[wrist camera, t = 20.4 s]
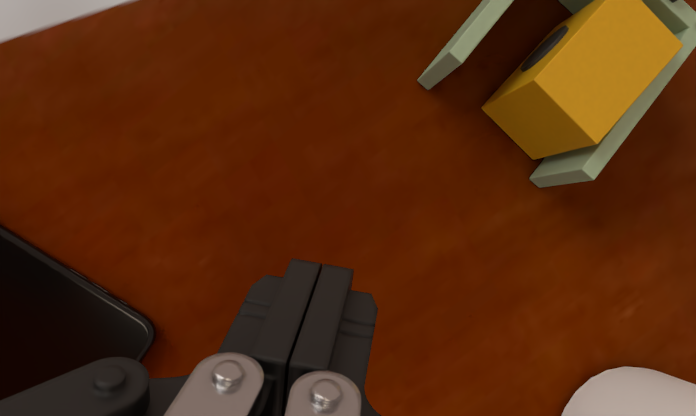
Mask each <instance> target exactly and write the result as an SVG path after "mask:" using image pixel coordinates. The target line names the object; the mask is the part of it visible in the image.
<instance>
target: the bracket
mask: <svg viewBox="0 0 696 416" xmlns="http://www.w3.org/2000/svg"><path fill="white" fill-rule="evenodd" d="M513 1H514V0H483V1H482V2H481V3H480V4H479V6H478V7H477V8H476V9H475V11H474V12H473V13H472V14H471V15H470V17H469V18H468V19H467V20H466V21H465V23H464V24H463V25H462V26H461V27H460V29H459V30H458V31H457V32H456V34H455V35H454V36H453V37H452V38H451V40H450V41H449V42H448V43H447V44H446V46H445V47H444V48H443V49H442V51H441V52H440V53H439V54H438V55H437V57H436V58H435V59H434V60H433V61H432V63H431V64H430V65H429V66H428V67H427V69H426V70H425V71H424V72H423V74H422V75H421V76H420V77H419V78H418V80H417V81H418V82H419V83H420V84H421V85H422V86H423V87H425V88H426V89H427V90H429V89H431V88H432V87H433V86H434V85H436V84H437V83H438V82H439V81H441V80H442V79H443V78H444V77H446V76H447V75H448V74H449V73H451V72H452V71H453V70H454V69H456V68H457V67H458V66H460V65H461V64H462V63H463V62H464V61H465V60H466V58H467V57H468V56H469V55H470V53H471V52H472V51H473V50H474V49H475V47H476V46H477V45H478V44H479V42H480V41H481V40H482V39H483V38H484V36H485V35H486V34H487V33H488V31H489V30H490V29H491V28H492V27H493V25H494V24H495V23H496V22H497V20H498V19H499V18H500V17H501V15H502V14H503V13H504V12H505V11H506V9H507V8H508V7H509V6H510V4H511V3H512V2H513ZM558 1H559V2H560V3H561V4H563V5H564V6H565V7H566V8H567V9H568V10H569V11H570V12H571V13H572V14H573V15H574V14H575V13H577V12H578V11H580V10H581V9H583V8H584V7H585V6H587V5H588V4H590V3H591V2H593V1H594V0H558ZM641 1H642V2H643V3H644V4H645V5H646V6H647V7H648V8H649V9H650V10H651V11H652V12H653V13H654V14H655V15H656V16H657V17H658V19H659V20H660V21H661V22H662V23H663V24H664V25H665V26H666V27H667V28H668V29H669V30H670V31H671V32H672V33H673V34H674V35H675V36H676V37H677V39H678V40H679V41H680V42H681V43H682V44H683V47H682V48H681V49H680V50H679V51H678V53H677V54H676V55H675V56H674V57H673V58H672V59H671V61H670V62H669V63H668V64H667V65H666V66H665V67H664V69H663V70H662V71H661V72H660V73H659V74H658V75H657V77H656V78H655V79H654V80H653V81H652V82H651V83H650V85H649V86H648V87H647V88H646V89H645V90H644V91H643V93H642V94H641V95H640V96H639V97H638V98H637V100H636V101H635V102H634V103H633V104H632V105H631V106H630V108H629V109H628V110H627V111H626V112H625V113H624V114H623V116H622V117H621V118H620V119H619V120H618V121H617V122H616V124H615V125H614V126H613V127H612V128H611V129H610V130H609V132H608V133H607V134H606V135H605V136H604V137H603V138H602V140H601V141H600V142H599V143H598V144H596V145H592V146H588V147H584V148H580V149H576V150H572V151H567V152H563V153H559V154H555V155H551V156H547V157H545V158H544V160H543V161H542V162H541V163H540V165H539V166H538V167H537V169H536V170H535V171H534V172H533V174H532V175H531V176H530V178H529V179H530V180H531V181H532V182H533V183H534V184H536V185H537V186H538V187H539V188H541V187H548V186H555V185H562V184H570V183H577V182H584V181H591V180H594V179H595V178H596V177H597V176H598V174H599V173H600V172H601V170H602V169H603V168H604V166H605V165H606V164H607V162H608V161H609V160H610V158H611V157H612V156H613V154H614V153H615V152H616V150H617V149H618V148H619V146H620V145H621V144H622V143H623V141H624V140H625V139H626V137H627V136H628V135H629V133H630V132H631V131H632V129H633V128H634V127H635V125H636V124H637V123H638V121H639V120H640V119H641V117H642V116H643V115H644V114H645V112H646V111H647V110H648V108H649V107H650V106H651V104H652V103H653V102H654V100H655V99H656V98H657V96H658V95H659V94H660V92H661V91H662V90H663V88H664V87H665V86H666V84H667V83H668V82H669V81H670V79H671V78H672V77H673V75H674V74H675V73H676V71H677V70H678V69H679V67H680V66H681V65H682V63H683V62H684V61H685V59H686V58H687V57H688V55H689V54H690V53H691V51H692V50H693V49H694V48H695V46H696V12H695V11H694V10H693V9H692V8H691V7H690V6H689V5H688V4H687V3H685V2H684V1H683V0H641Z"/></svg>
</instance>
